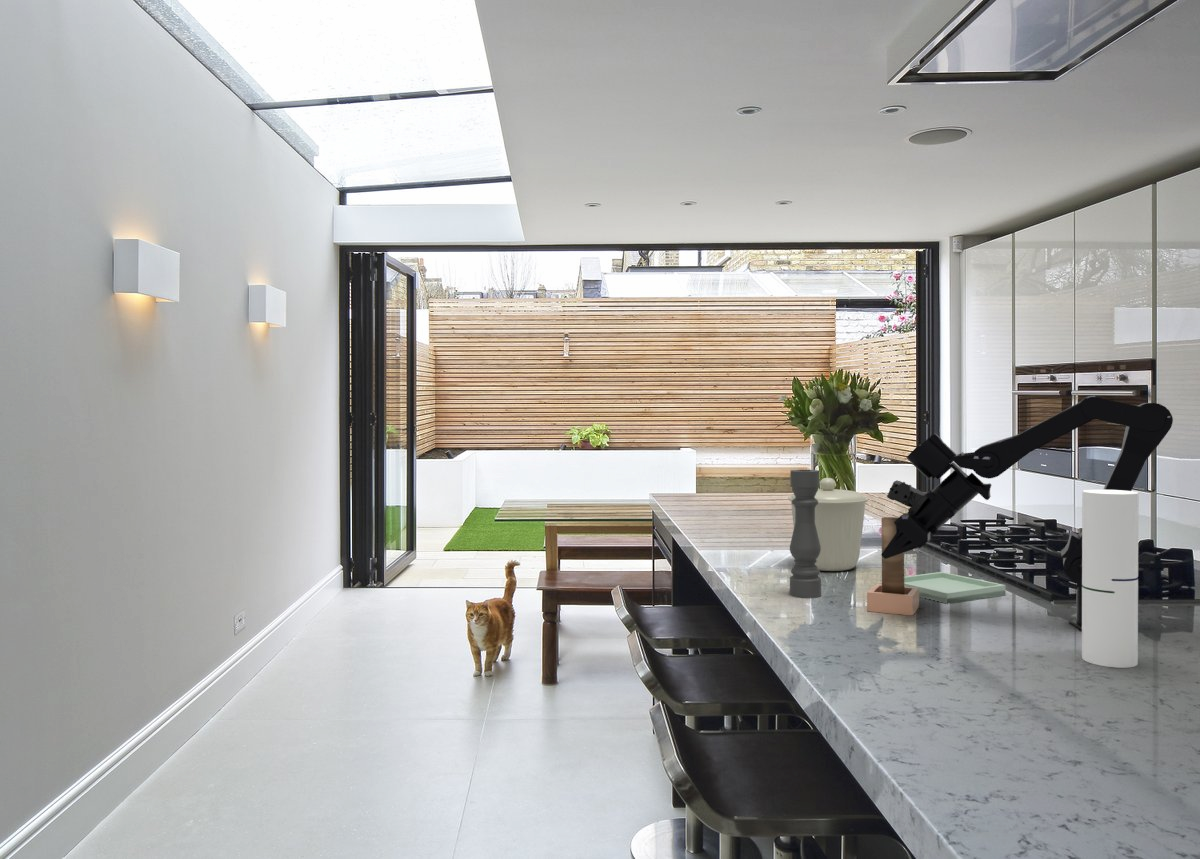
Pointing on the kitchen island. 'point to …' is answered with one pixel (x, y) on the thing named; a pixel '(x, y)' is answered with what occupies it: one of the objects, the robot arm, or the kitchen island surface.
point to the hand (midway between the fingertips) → (885, 555)
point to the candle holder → (805, 535)
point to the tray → (953, 587)
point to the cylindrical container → (1110, 577)
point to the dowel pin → (891, 561)
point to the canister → (837, 526)
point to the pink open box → (893, 601)
